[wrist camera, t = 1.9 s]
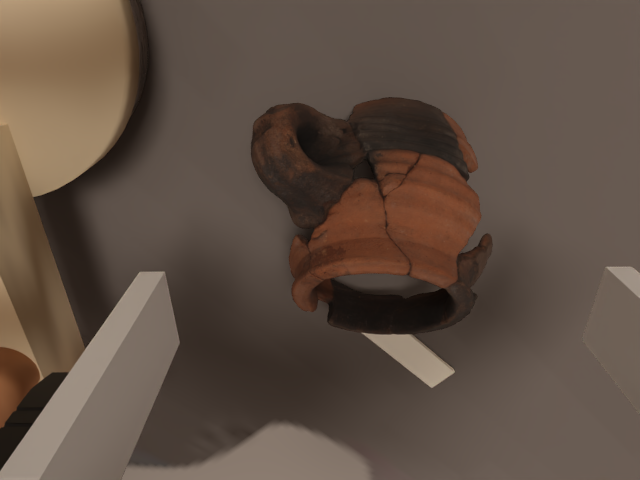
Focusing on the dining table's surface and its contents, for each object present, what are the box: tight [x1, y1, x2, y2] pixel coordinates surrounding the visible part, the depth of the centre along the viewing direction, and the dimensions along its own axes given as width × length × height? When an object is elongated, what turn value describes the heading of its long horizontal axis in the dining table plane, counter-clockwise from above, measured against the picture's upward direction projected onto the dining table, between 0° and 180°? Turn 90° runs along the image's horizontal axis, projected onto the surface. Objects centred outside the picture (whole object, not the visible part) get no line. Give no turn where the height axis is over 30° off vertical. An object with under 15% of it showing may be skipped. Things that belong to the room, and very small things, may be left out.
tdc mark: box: [362, 333, 455, 388], centre depth 26 cm, size 8×2×1 cm, turn 46°
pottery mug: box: [251, 97, 492, 335], centre depth 19 cm, size 12×10×8 cm
